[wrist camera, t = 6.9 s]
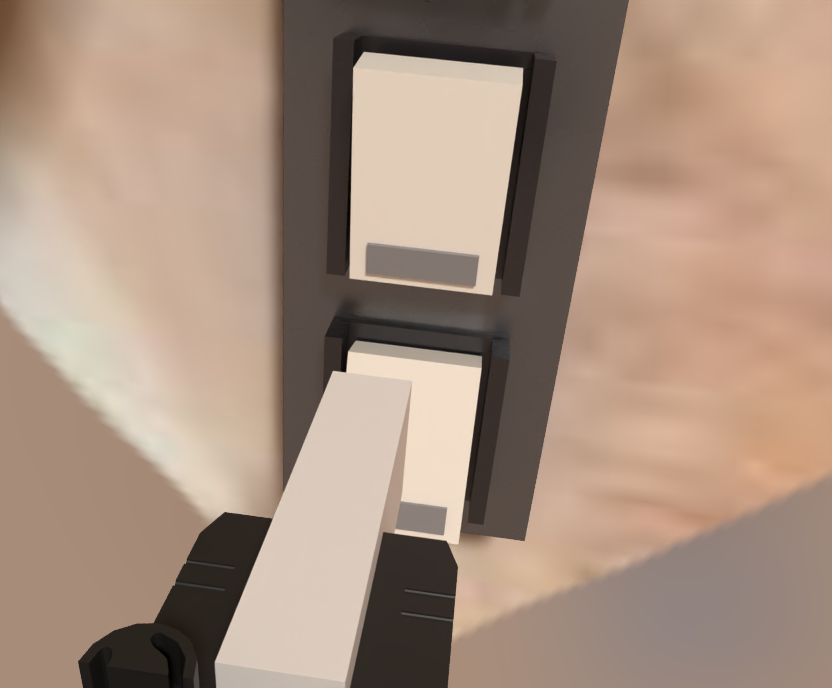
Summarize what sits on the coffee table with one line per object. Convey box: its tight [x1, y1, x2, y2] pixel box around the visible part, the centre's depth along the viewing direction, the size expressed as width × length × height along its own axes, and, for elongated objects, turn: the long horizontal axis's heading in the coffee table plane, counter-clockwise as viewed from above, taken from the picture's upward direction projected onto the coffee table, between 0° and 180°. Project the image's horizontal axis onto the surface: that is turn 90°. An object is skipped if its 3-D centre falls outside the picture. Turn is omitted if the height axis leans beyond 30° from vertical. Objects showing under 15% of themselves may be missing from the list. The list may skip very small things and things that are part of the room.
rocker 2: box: [346, 341, 482, 544], centre depth 27 cm, size 6×4×2 cm
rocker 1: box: [350, 52, 523, 295], centre depth 23 cm, size 6×4×2 cm
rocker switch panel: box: [283, 0, 629, 541], centre depth 26 cm, size 30×10×6 cm, turn 175°
